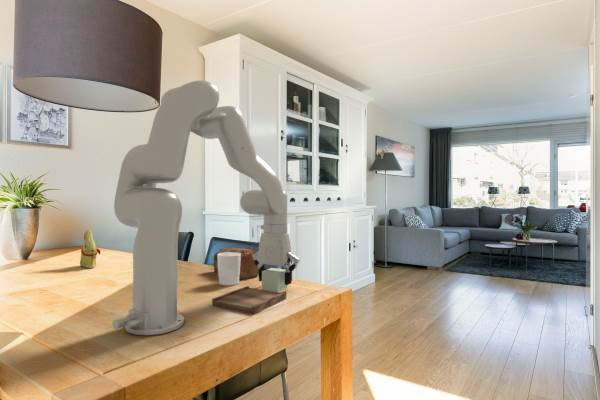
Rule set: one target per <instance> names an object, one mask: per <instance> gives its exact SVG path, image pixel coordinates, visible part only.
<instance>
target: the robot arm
mask: <svg viewBox="0 0 600 400" xmlns="http://www.w3.org/2000/svg"><path fill="white" fill-rule="evenodd" d="M219 102H220V92H219V90H218V87H217V86H216V85H215V84H213V83H212V82H211V81H207V80H193V81H190V82H186V83H184V84H183V85H181V86H177V87H173V88H171V89H168V90H167V91H165V92H164V94H163V95H162V97H161V99H160V105H159V107H158V109H157V111H156V112H155V116H154V118H153V121H152V124H151V125H152V126H151V130H150V134H149V138H148V140H147V143H145V144H140V145H136V146H134V147H132V148H131V149H129V151H128V152H127V153H126V154H125V156H124V158H123V160H122V161H121V166H120V171H119V175H118V181H117V185H116V190H115V194H114V202H113V209H114V214H115V217H116V219H117V220H118V221H119V222H120V223H121V224H122V225H124V226H126V227H130V228H136V229H137V232H136V235H135V237H134V241H133V247H132V248H133V249H132V308H131V309H128V314H126V315H125V317H120V318H117V319H114V320H113V321H112V327H113V329H114V330H117V329H121V328H124V330H125V331H126V332H127V333H128V334H131V335H137V336H155V335H162V334H166V333H169V332H173V331H175V330H178V329H180V328H181V327H182V326H184V324H185V317H184V316H183V315H182V314H180V313H178V259H179V258H178V253H179V252H178V249H179V248H178V245H179V244H178V243H179V232H180V226H181V223H182V222H181V221H182V216H183V206H182V202H181V200H180V198H179V197H178V195H177V194H175V193H174V192H173V191H171V190H169V189H167V188H161V187H157V184H168V183H174V182H175V181H177V180H179V179H180V178H181V176H182V174H183V170H184V166H185V162H186V161H185V160H186V155H187V149H188V143H189V139H190V138H189V137H190V134H191V133H193V134H195V135H197V136H199V137H201V138H203V139H206V140H213V139H214V140H215V139H218V141H219V143H220V145H221V148H222V151H223V153H224V157H225V158H226V161H227V163H228V165H229V167H230V168H232V169H233V170H234V171H237V172H239V173H240V174H243V175H245V176H246V177H248V178H250V179H252V180H253V181H254V182H255V183H256V184H257V185H258V186H259V188H260V189H252V190H247V191H246V192H244V193H243V194H242V196H241V197H240V199H239V201H240V202H239V204H240V208H241V209H242V211H243V212H245V213H246V214H249V215H259V216H261V215H263V224H262V225H260V229H261V230H263V232H262V233H261V234H260V237H259V242H258V251H255V252H256V253H254V254H252V257H253V260H254V263H255V264H256V266H257V268H258V269H259V274H258V281H259V282H262V271H264V270H267V269H266V267H265V266H272V267H283V269H285V270H286V272H285V285H287V286H288V285H291V284H292V281H293V272H294V270H295V269H297V267H298V264H299V262H300V261H301V259H300V258H299V257H298V256H296V255H295V254H293V253H292V247H291V238H290V235H289V233H288V195H287V192H286V191H284V189H283V187H282V184H281V182H280V179H279V177H278V176H277V174H276V172H275V171H274V170H273V169H272V168H271V167H270V166H269V164H267V163H266V161H264V160H263V159H262V158H260V156H259V155H258V154H257V152H256V149H255V146H254V144H253V141H252V137H251V135H250V132H249V130H248V127H247V124H246V121H245V118H244V117H243V114H242V112H241V110H240V109H238V108H237V107H235V106H234V105H233V106H230V105H224V106H218V105H219ZM291 261H292V263H291Z"/></svg>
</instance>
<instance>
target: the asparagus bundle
mask: <svg viewBox="0 0 600 400" xmlns="http://www.w3.org/2000/svg"><path fill="white" fill-rule="evenodd" d="M83 242H84V243H83V245H82V247H81V250H80V260H79V265H80V266H81V267H83V268H86V269H90V270H91V269H94V268H95V267H96V266H97V255H101V250H100V248H98V247H97V245H96V242H95V240H94V237H93V233H92V231H91V229H87V230H86V231H85V232H84V234H83Z"/></svg>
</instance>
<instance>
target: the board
mask: <svg viewBox="0 0 600 400" xmlns="http://www.w3.org/2000/svg"><path fill="white" fill-rule="evenodd" d="M285 300H287V292H285V291H283V292H280V291H279V292H273V291H267V290H262V289H259V288H253V287H250V286H248V285H247V286H244V287H241V288H238V289H236V290H233V291H230V292H227V293H225V294H222V295H220V296H216V297H214V298H212V299H211V306H212V307H216V308H220V309H221V308H222V309H227V310H230V311H236V312H242V313H246V314H251V315H256V314H258V313H260V312H262V311H265V310H267V309H268V308H270V307H273V306H274V305H276V304H279V303H280V302H283V301H285Z"/></svg>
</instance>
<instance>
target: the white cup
mask: <svg viewBox="0 0 600 400" xmlns="http://www.w3.org/2000/svg"><path fill="white" fill-rule="evenodd" d="M217 260H218V272H217V275H218V285H220V286H224V287H225V286H226V287H228V286H236V285H238V284H239V283H240V279H239V275H240V263H241V254H240V253H236V252H224V253H219V254H217Z"/></svg>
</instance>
